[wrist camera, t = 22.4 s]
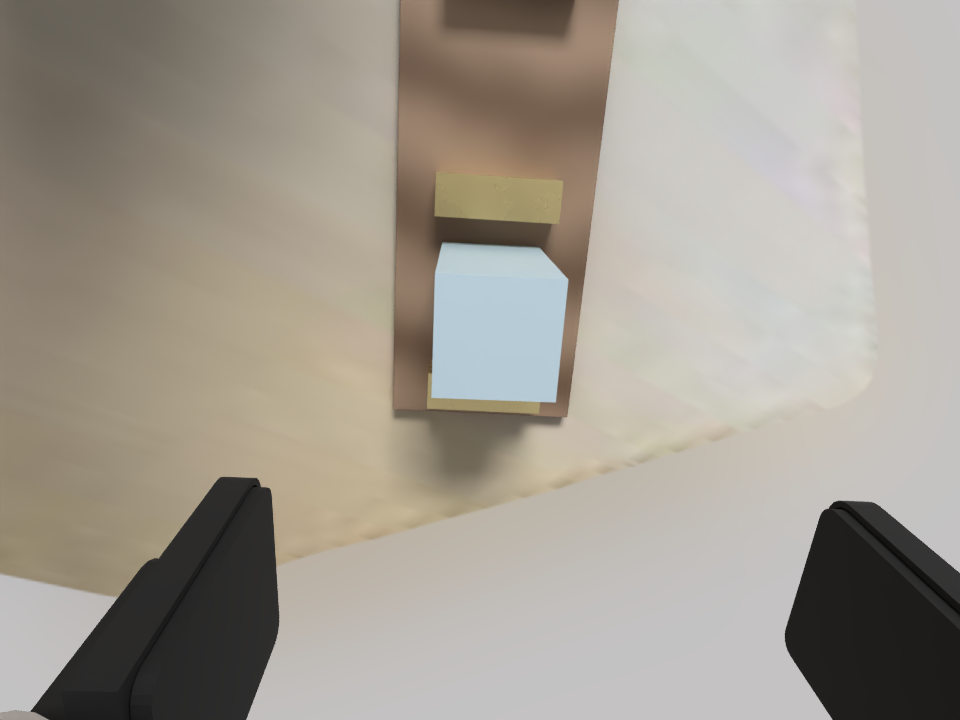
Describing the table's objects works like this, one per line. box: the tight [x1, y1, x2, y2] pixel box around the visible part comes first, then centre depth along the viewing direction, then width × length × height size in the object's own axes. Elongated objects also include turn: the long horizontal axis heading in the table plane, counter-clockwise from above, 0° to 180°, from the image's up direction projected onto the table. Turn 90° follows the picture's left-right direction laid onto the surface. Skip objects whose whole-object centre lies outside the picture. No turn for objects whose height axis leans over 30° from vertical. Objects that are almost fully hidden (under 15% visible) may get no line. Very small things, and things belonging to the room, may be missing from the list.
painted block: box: [431, 242, 568, 403], centre depth 27 cm, size 5×5×9 cm
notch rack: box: [393, 0, 619, 417], centre depth 27 cm, size 34×10×3 cm, turn 176°
